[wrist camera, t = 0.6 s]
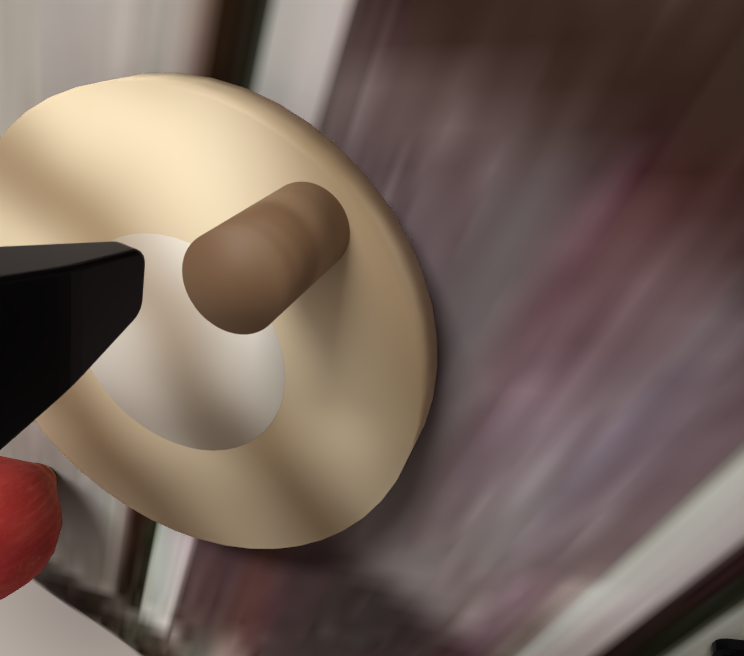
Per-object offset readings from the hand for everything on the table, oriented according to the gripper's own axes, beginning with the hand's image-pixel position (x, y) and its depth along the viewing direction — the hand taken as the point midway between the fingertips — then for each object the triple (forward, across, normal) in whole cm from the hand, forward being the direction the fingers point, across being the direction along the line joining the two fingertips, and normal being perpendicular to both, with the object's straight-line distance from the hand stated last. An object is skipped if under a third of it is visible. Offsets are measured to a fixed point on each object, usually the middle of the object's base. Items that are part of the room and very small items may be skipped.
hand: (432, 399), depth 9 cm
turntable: (+11, +9, +8) cm, 16 cm away
